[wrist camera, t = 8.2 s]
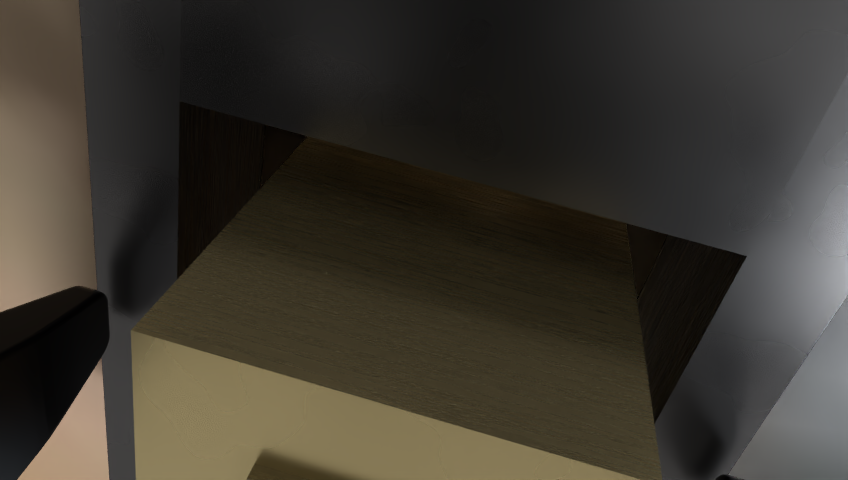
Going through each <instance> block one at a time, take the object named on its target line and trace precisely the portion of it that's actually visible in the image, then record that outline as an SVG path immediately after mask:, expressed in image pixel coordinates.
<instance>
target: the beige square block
mask: <svg viewBox="0 0 848 480" xmlns="http://www.w3.org/2000/svg"><path fill="white" fill-rule="evenodd" d="M131 350H132V379H133V409H134V438H135V467H136V480H662V474H661V467H660V460H659V453H658V446H657V439H656V431H655V424H654V417H653V410H652V403H651V396H650V389H649V382H648V375H647V368H646V361H645V354H644V347H643V340H642V332H641V325H640V318H639V311H638V304H637V297H636V290H635V283H634V276H633V269H632V262H631V255H630V248H629V240H628V233H627V226H626V223H624V222H620V221H616V220H613V219H609V218H606V217H602V216H598V215H595V214H591V213H587V212H584V211H580V210H576V209H573V208H569V207H565V206H562V205H558V204H554V203H551V202H547V201H543V200H540V199H536V198H532V197H529V196H525V195H521V194H518V193H514V192H510V191H507V190H503V189H499V188H496V187H492V186H488V185H485V184H481V183H477V182H474V181H470V180H466V179H463V178H459V177H455V176H452V175H448V174H444V173H441V172H437V171H433V170H430V169H426V168H422V167H419V166H415V165H411V164H408V163H404V162H400V161H397V160H393V159H389V158H386V157H382V156H378V155H375V154H371V153H367V152H364V151H360V150H356V149H353V148H349V147H345V146H342V145H338V144H334V143H331V142H327V141H324V140H320V139H316V138H313V137H309V136H308V137H307V138H306V139H305V140H304V141H303V142H302V143H301V145H300V146H299V147H298V148H297V149H296V150H295V151H294V152H293V153H292V154H291V156H290V157H289V158H288V159H287V160H286V161H285V162H284V163H283V164H282V165H281V166H280V168H279V169H278V170H277V171H276V172H275V173H274V174H273V175H272V176H271V177H270V179H269V180H268V181H267V182H266V183H265V184H264V185H263V186H262V187H261V188H260V189H259V191H258V192H257V193H256V194H255V195H254V196H253V197H252V198H251V199H250V200H249V202H248V203H247V204H246V205H245V206H244V207H243V208H242V209H241V210H240V211H239V212H238V214H237V215H236V216H235V217H234V218H233V219H232V220H231V221H230V222H229V223H228V224H227V226H226V227H225V228H224V229H223V230H222V231H221V232H220V233H219V234H218V235H217V237H216V238H215V239H214V240H213V241H212V242H211V243H210V244H209V245H208V246H207V247H206V249H205V250H204V251H203V252H202V253H201V254H200V255H199V256H198V257H197V258H196V260H195V261H194V262H193V263H192V264H191V265H190V266H189V267H188V268H187V269H186V270H185V272H184V273H183V274H182V275H181V276H180V277H179V278H178V279H177V280H176V281H175V282H174V284H173V285H172V286H171V287H170V288H169V289H168V290H167V291H166V292H165V293H164V295H163V296H162V297H161V298H160V299H159V300H158V301H157V302H156V303H155V304H154V305H153V307H152V308H151V309H150V310H149V311H148V312H147V313H146V314H145V315H144V316H143V318H142V319H141V320H140V321H139V322H138V323H137V324H136V325H135V326H134V327H133V328H132V330H131Z"/></svg>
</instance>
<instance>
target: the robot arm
mask: <svg viewBox="0 0 848 480" xmlns="http://www.w3.org/2000/svg"><path fill="white" fill-rule="evenodd" d="M109 338H110V328H109V310H108V299H107V297H106V295H105V294H104V293H102V292H100V291H97V290H93V289H90V288H87V287H83V286H75V287H71V288H68V289H65V290H62V291H60V292H57V293H54V294H51V295H48V296H45V297H42V298H40V299H37V300H34V301H31V302H28V303H25V304H23V305H20V306H17V307H14V308H11V309H8V310H5V311H3V312H0V480H17V479H18V478H19V476H20V475H21V474H22V473H23V471H24V470H25V469H26V468H27V466H28V465H29V464H30V463H31V461H32V460H33V459H34V458H35V456H36V455H37V454H38V453H39V451H40V450H41V449H42V447H43V446H44V445H45V443H46V442H47V441H48V439H49V438H50V437H51V435H52V434H53V432H54V431H55V429H56V428H57V426H58V425H59V423H60V422H61V420H62V418H63V417H64V415H65V414H66V412H67V411H68V409H69V407H70V406H71V404H72V403H73V401H74V400H75V398H76V396H77V395H78V393H79V392H80V390H81V389H82V387H83V385H84V384H85V382H86V381H87V379H88V378H89V376H90V374H91V373H92V371H93V370H94V368H95V366H96V365H97V363H98V362H99V360H100V359H101V357H102V355H103V354H104V352H105V350H106V348H107V346H108V343H109ZM715 480H743V479H740V478H737V477H733V476H730V475H720V476H718V477H717V478H716V479H715Z"/></svg>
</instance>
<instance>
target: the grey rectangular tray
mask: <svg viewBox="0 0 848 480" xmlns="http://www.w3.org/2000/svg"><path fill="white" fill-rule="evenodd" d="M79 7H80V23H81V39H82V55H83V70H84V86H85V102H86V118H87V133H88V149H89V165H90V181H91V196H92V212H93V228H94V244H95V259H96V275H97V291H100V292H102V293H104V294H105V295H106V297H107V299H108V310H109V328H110V338H109V343H108V346H107V348H106V350H105V352H104V354H103V355H102V370H103V385H104V401H105V417H106V433H107V449H108V464H109V480H136V467H135V438H134V409H133V379H132V350H131V330H132V328H133V327H134V326H135V325H136V324H137V323H138V322H139V321H140V320H141V319H142V318H143V316H144V315H145V314H146V313H147V312H148V311H149V310H150V309H151V308H152V307H153V305H154V304H155V303H156V302H157V301H158V300H159V299H160V298H161V297H162V296H163V295H164V293H165V292H166V291H167V290H168V289H169V288H170V287H171V286H172V285H173V284H174V282H175V281H176V280H177V279H178V278H179V277H180V276H181V275H182V274H183V273H184V272H185V270H186V269H187V268H188V267H189V266H190V265H191V264H192V263H193V262H194V261H195V260H196V258H197V257H198V256H199V255H200V254H201V253H202V252H203V251H204V250H205V249H206V247H207V246H208V245H209V244H210V243H211V242H212V241H213V240H214V239H215V238H216V237H217V235H218V234H219V233H220V232H221V231H222V230H223V229H224V228H225V227H226V226H227V224H228V223H229V222H230V221H231V220H232V219H233V218H234V217H235V216H236V215H237V214H238V212H239V211H240V210H241V209H242V208H243V207H244V206H245V205H246V204H247V203H248V202H249V200H250V199H251V198H252V197H253V196H254V195H255V194H256V193H257V192H258V191H259V189H260V178H261V167H262V155H263V143H264V132H265V125H269V126H272V127H276V128H280V129H283V130H287V131H291V132H294V133H298V134H302V135H305V136H309V137H313V138H316V139H320V140H324V141H327V142H331V143H334V144H338V145H342V146H345V147H349V148H353V149H356V150H360V151H364V152H367V153H371V154H375V155H378V156H382V157H386V158H389V159H393V160H397V161H400V162H404V163H408V164H411V165H415V166H419V167H422V168H426V169H430V170H433V171H437V172H441V173H444V174H448V175H452V176H455V177H459V178H463V179H466V180H470V181H474V182H477V183H481V184H485V185H488V186H492V187H496V188H499V189H503V190H507V191H510V192H514V193H518V194H521V195H525V196H529V197H532V198H536V199H540V200H543V201H547V202H551V203H554V204H558V205H562V206H565V207H569V208H573V209H576V210H580V211H584V212H587V213H591V214H595V215H598V216H602V217H606V218H609V219H613V220H616V221H620V222H624V223H627V224H631V225H635V226H638V227H642V228H646V229H649V230H653V231H657V232H660V233H664V234H668V236H667V238H666V240H665V242H664V244H663V247H662V249H661V251H660V253H659V255H658V257H657V260H656V262H655V264H654V266H653V268H652V270H651V272H650V275H649V277H648V279H647V281H646V283H645V285H644V287H643V290H642V292H641V294H640V296H639V298H638V300H637V304H638V311H639V318H640V325H641V332H642V340H643V347H644V354H645V361H646V368H647V375H648V382H649V389H650V396H651V403H652V410H653V417H654V424H655V431H656V439H657V446H658V453H659V460H660V467H661V474H662V480H715V479H716V478H717V477H718V476H720V475H728V473H729V472H730V470H731V469H732V467H733V466H734V464H735V463H736V461H737V460H738V458H739V457H740V456H741V454H742V453H743V451H744V450H745V448H746V447H747V445H748V444H749V442H750V441H751V439H752V438H753V436H754V435H755V433H756V432H757V430H758V429H759V427H760V426H761V424H762V423H763V421H764V420H765V418H766V417H767V415H768V414H769V412H770V411H771V409H772V408H773V406H774V405H775V403H776V402H777V400H778V399H779V397H780V396H781V394H782V393H783V391H784V390H785V388H786V387H787V385H788V384H789V382H790V381H791V379H792V378H793V376H794V375H795V373H796V372H797V370H798V369H799V367H800V366H801V364H802V363H803V361H804V360H805V358H806V357H807V355H808V354H809V352H810V351H811V349H812V348H813V346H814V345H815V343H816V342H817V341H818V339H819V338H820V336H821V335H822V333H823V332H824V330H825V329H826V327H827V326H828V324H829V323H830V321H831V320H832V318H833V317H834V315H835V314H836V312H837V311H838V309H839V308H840V306H841V305H842V303H843V302H844V300H845V299H846V297H847V296H848V0H79Z"/></svg>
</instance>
